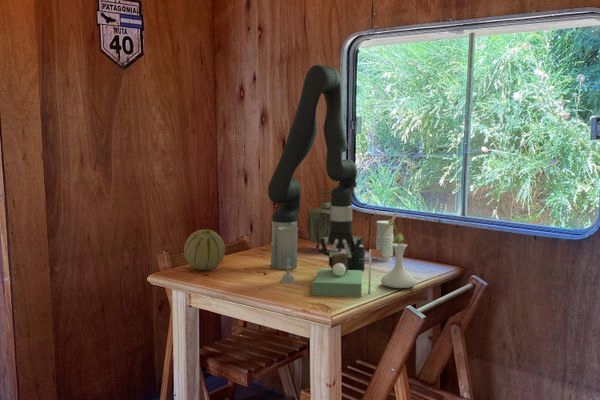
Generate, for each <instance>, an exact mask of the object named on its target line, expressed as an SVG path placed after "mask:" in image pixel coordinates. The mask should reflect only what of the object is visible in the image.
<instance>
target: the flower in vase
mask: <svg viewBox="0 0 600 400" xmlns="http://www.w3.org/2000/svg"><path fill="white" fill-rule="evenodd" d="M397 214H398V212H393V214H392V217H391V218H389V219H388V221H389V223H388V224H387V225H386V226H385V229H384V230H383V231H384V233H385V232H386V231H387V230H388V229H389V227H390V226H391V225H393V229H394V230H395V232H396V236H395V237H394V240H393V243H394V244H392V246H393V251H394V257H395V262H394V263H395V264H394V267H393V268H392V269H391V270H389V271H388V272H387V273H385V274H384V275H383V276H382V277H381V279H380V282H381V284H382V285H384V286H386V287H389V288H392V289H393V288H395V289H407V288H411V287H414V286H415V285H416V284H417V281H416V279H415V277H414V276H413V275H412V274H411V273H409V271H407V270H406V269H405V268H404V264H403V257H404V251H406V248H407V247H408V244H406V243H401V242H402V241H404V236H403V235H402V232H398V230H397V227H396V225H395V222H394V221H395V219H396V217H397ZM396 242H398V243H396Z"/></svg>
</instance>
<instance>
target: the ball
mask: <svg viewBox="0 0 600 400" xmlns="http://www.w3.org/2000/svg"><path fill="white" fill-rule="evenodd" d="M345 272H346V268H345V266H344V265H343V264H342V263H336V264H335V265H334V266H333V273H334V274H335V275H336V276H342V275H344V274H345Z"/></svg>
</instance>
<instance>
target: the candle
mask: <svg viewBox="0 0 600 400" xmlns="http://www.w3.org/2000/svg"><path fill="white" fill-rule="evenodd" d="M388 223H389V220H377V221H376V235H375V246H376V249H378V250H382V257H376V260H377V262H378V261H379V262H391V261H392V260H393V259H392V257H393V256H394V248H393V246H392V244H395V243H393V240H394V239H395V236H394V226H393V225H391V226H390V227H389V229H388V230H387V231H386V232H385V233H384V231H383V230H384V229H385V226H386V225H387V224H388Z"/></svg>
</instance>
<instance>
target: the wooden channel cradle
mask: <svg viewBox="0 0 600 400" xmlns="http://www.w3.org/2000/svg"><path fill="white" fill-rule="evenodd" d="M336 263H342V264H343V265H344V266H345V268H346V272H347V263H348V255H347V253H346V252H334V254H333V257H332V268H331V269H332V271H333V266H334V265H335V264H336Z"/></svg>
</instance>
